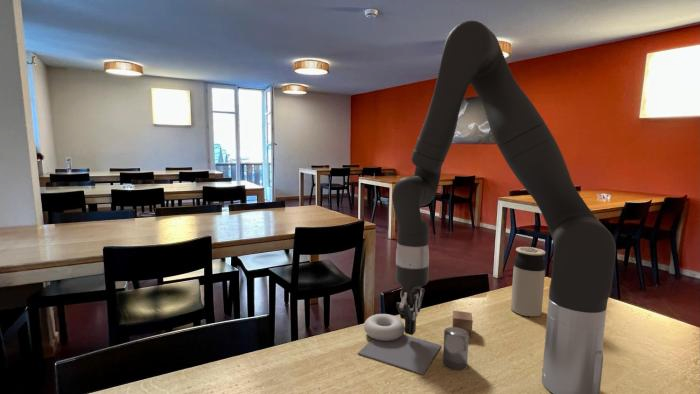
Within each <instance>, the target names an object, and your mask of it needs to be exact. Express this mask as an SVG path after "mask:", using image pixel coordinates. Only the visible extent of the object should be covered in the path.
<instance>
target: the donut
mask: <svg viewBox="0 0 700 394" xmlns="http://www.w3.org/2000/svg"><path fill="white" fill-rule="evenodd" d="M363 329H364V332H365V333H366V335H368V337H370V338H372V339H373V338H374V339H376V340H381V341H391V340H395V339H398V338H399V337H401V336H402V335H404V333H405V322H403V321H402V320H401V319H400V318H399V317H398V316H395V315H393V314H388V313H376V314H373V315H371V316H369V317H367V318H366V319H365V321H364V323H363Z"/></svg>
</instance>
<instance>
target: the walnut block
mask: <svg viewBox="0 0 700 394" xmlns="http://www.w3.org/2000/svg"><path fill="white" fill-rule="evenodd" d="M472 315H473V314H472V312H469V311H460V310H459V311H458V310H452V325H451V327H457V328H461V329H464V330H466V331H467V332H468V333H469V339H470V338H471V339H472V338H473V337H472V336H473V334H472V333H473V322H474V320H473V316H472Z"/></svg>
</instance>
